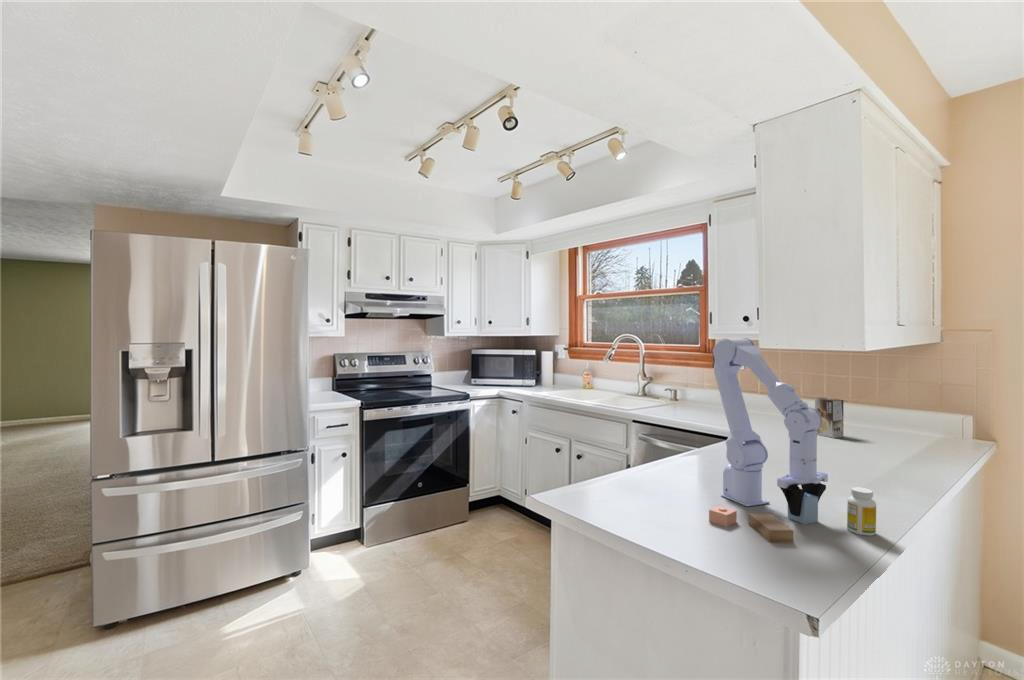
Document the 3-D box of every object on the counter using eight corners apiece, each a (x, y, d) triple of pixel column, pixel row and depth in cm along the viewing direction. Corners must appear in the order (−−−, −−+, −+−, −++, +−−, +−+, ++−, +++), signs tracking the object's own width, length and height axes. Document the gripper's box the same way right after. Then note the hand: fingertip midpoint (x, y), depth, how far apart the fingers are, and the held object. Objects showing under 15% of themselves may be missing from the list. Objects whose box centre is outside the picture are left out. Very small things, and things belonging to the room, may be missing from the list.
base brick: (748, 525, 116) (748, 513, 116) (769, 525, 116) (769, 513, 116) (770, 543, 106) (770, 530, 106) (793, 544, 106) (793, 530, 106)
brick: (709, 521, 118) (709, 508, 118) (718, 517, 121) (718, 504, 121) (726, 527, 115) (727, 514, 115) (736, 523, 117) (736, 509, 117)
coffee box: (844, 437, 209) (844, 399, 209) (833, 438, 207) (833, 400, 207) (824, 433, 218) (825, 397, 218) (813, 434, 216) (814, 397, 216)
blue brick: (787, 517, 120) (787, 491, 120) (800, 514, 122) (801, 489, 122) (804, 524, 116) (804, 497, 116) (817, 521, 117) (818, 495, 117)
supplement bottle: (845, 531, 111) (845, 489, 111) (849, 524, 115) (849, 484, 115) (874, 538, 108) (874, 495, 108) (877, 531, 112) (878, 489, 112)
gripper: (795, 465, 112) (795, 523, 112) (839, 459, 117) (839, 515, 118) (769, 457, 119) (769, 513, 119) (812, 452, 124) (812, 505, 124)
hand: (802, 513), depth 119 cm, fingers closed on blue brick, 4 cm apart
